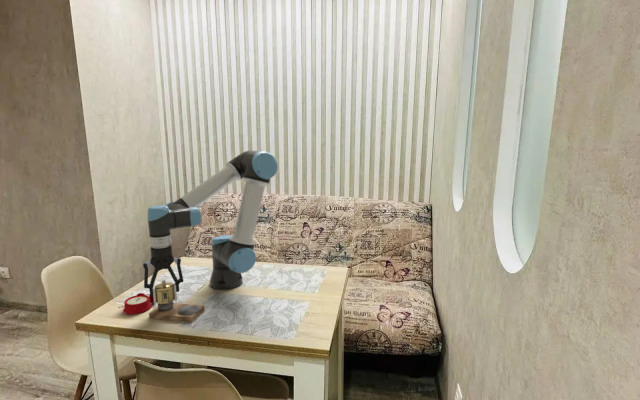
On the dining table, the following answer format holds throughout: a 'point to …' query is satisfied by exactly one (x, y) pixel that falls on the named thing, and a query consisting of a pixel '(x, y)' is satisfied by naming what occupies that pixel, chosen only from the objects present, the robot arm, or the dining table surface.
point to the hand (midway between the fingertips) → (165, 301)
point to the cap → (164, 292)
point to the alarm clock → (138, 304)
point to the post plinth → (177, 312)
